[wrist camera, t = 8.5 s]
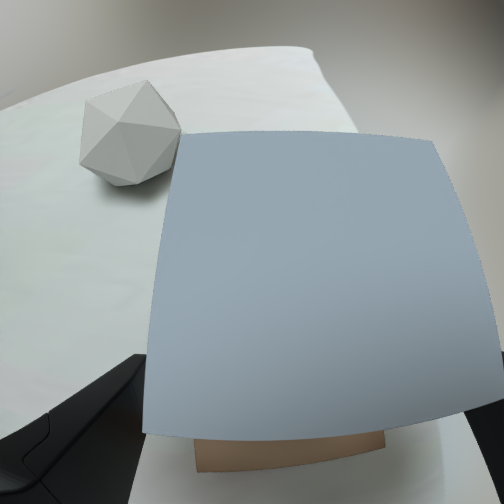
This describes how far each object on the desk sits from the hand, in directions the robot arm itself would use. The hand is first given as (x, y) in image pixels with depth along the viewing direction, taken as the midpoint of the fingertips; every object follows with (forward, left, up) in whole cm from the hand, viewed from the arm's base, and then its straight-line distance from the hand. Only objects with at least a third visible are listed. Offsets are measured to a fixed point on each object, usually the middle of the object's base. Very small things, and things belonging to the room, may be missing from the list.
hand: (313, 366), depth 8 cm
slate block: (0, 0, -8) cm, 8 cm away
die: (+21, +1, -12) cm, 25 cm away
